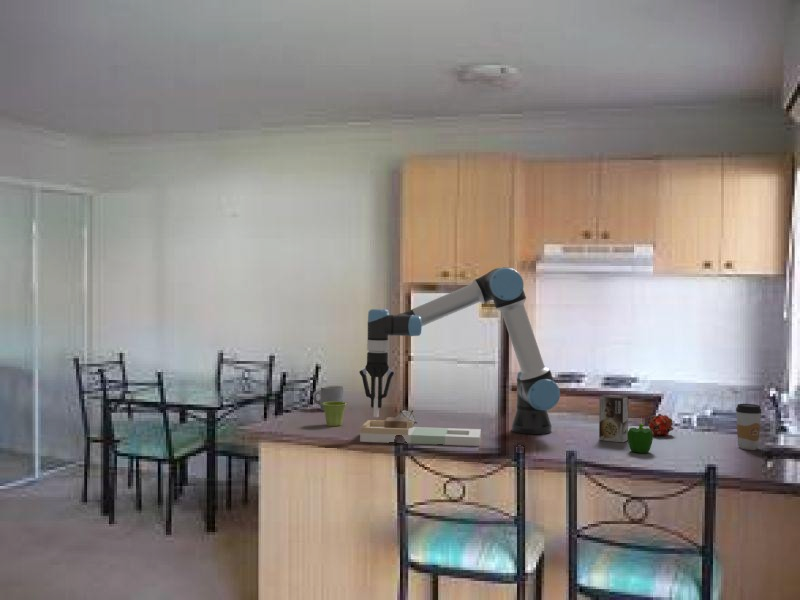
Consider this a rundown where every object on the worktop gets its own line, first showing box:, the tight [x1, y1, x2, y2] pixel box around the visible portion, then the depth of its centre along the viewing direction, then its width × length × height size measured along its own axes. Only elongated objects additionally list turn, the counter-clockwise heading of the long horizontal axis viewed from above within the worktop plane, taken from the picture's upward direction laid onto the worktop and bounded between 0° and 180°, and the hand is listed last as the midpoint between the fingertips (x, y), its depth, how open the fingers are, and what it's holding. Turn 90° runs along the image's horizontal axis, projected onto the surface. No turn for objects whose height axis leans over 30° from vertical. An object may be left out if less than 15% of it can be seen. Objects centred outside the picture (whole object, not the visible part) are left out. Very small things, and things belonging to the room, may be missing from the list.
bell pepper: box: [627, 423, 654, 454], centre depth 270 cm, size 8×8×10 cm
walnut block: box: [383, 416, 409, 429], centre depth 289 cm, size 8×8×4 cm
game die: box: [395, 408, 418, 426], centre depth 306 cm, size 9×8×10 cm
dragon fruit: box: [647, 413, 674, 437], centre depth 302 cm, size 8×8×12 cm
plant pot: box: [322, 401, 347, 427], centre depth 315 cm, size 9×9×9 cm
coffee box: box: [598, 394, 629, 443], centre depth 291 cm, size 9×6×16 cm
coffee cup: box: [735, 403, 763, 451], centre depth 279 cm, size 8×8×15 cm
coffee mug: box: [312, 385, 344, 412], centre depth 356 cm, size 13×10×10 cm
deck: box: [359, 419, 482, 447], centre depth 288 cm, size 42×16×5 cm, turn 83°
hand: (376, 416), depth 290 cm, fingers closed
